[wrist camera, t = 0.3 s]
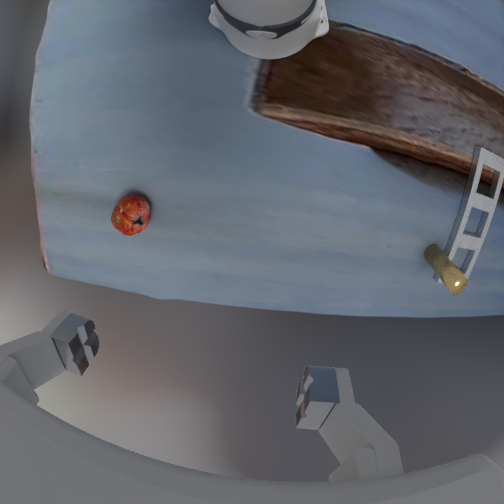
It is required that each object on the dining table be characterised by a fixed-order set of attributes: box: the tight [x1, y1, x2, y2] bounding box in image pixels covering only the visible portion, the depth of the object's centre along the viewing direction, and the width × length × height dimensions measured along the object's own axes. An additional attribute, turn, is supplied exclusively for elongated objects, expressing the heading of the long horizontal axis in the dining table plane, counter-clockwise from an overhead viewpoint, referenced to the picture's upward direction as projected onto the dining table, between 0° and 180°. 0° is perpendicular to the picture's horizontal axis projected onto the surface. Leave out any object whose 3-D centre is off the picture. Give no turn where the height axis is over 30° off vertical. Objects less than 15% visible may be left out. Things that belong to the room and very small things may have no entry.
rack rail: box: [433, 145, 504, 283], centre depth 43 cm, size 30×9×2 cm, turn 174°
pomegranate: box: [111, 195, 150, 235], centre depth 47 cm, size 7×7×10 cm
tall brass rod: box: [424, 244, 467, 295], centre depth 44 cm, size 4×4×12 cm
